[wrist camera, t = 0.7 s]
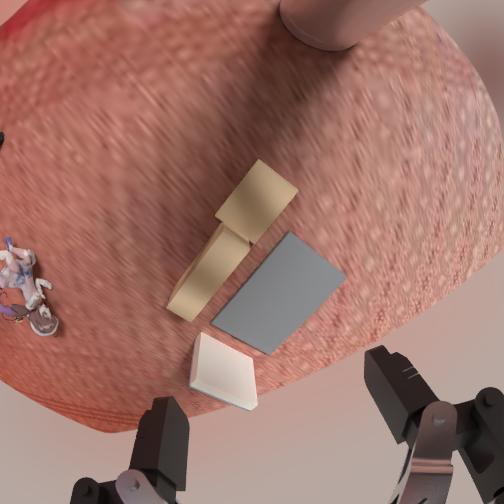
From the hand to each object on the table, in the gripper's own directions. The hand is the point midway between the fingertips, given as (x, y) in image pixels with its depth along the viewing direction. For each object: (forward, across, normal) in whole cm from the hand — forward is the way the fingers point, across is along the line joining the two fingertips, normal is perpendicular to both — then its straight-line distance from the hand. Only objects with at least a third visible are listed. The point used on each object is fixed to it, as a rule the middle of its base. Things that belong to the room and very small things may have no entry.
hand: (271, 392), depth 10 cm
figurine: (+21, +28, -4) cm, 35 cm away
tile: (+21, +6, +14) cm, 25 cm away
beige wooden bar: (+20, +1, -1) cm, 20 cm away
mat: (+20, -2, +8) cm, 22 cm away
